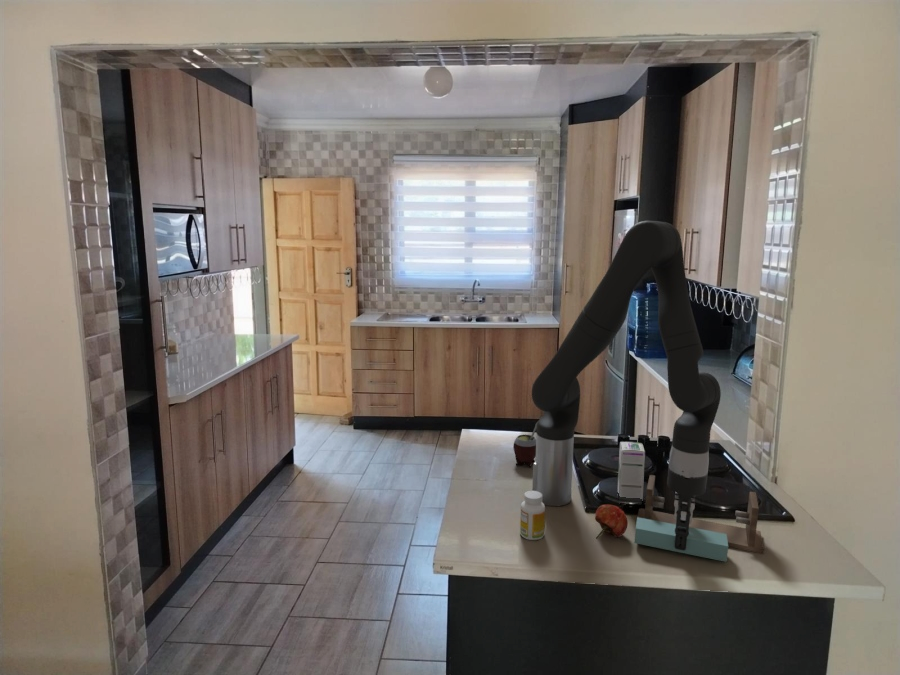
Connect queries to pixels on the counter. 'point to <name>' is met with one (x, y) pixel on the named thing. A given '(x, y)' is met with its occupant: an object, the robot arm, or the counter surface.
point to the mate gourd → (525, 449)
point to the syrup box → (631, 470)
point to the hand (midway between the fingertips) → (680, 541)
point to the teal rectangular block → (696, 544)
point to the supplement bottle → (532, 516)
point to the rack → (735, 535)
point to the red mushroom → (611, 519)
